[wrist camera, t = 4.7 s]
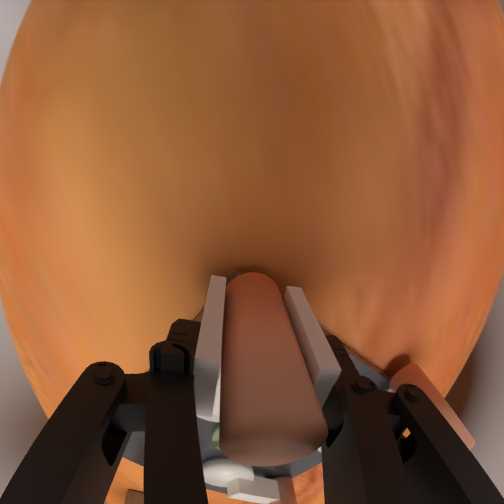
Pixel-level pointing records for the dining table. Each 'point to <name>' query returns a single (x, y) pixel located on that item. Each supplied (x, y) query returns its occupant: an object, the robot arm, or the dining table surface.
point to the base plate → (211, 429)
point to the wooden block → (134, 497)
